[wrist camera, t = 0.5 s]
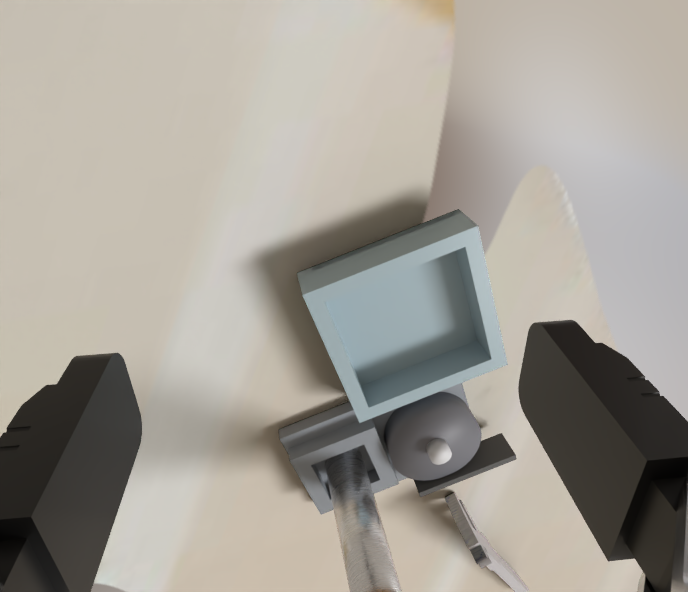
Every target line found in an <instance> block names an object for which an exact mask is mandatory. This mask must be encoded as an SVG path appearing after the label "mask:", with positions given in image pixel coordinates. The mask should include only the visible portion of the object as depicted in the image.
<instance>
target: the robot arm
mask: <svg viewBox="0 0 688 592" xmlns="http://www.w3.org/2000/svg"><path fill="white" fill-rule="evenodd" d="M519 399H520V403H521V407H522V410H523V412H524V414H525V416H526V418H527V420H528V421H529V423H530V425H531V427H532V428H533V430H534V432H535V434H536V435H537V437H538V439H539V441H540V442H541V444H542V446H543V448H544V449H545V451H546V453H547V455H548V456H549V458H550V460H551V462H552V463H553V465H554V467H555V469H556V470H557V472H558V474H559V476H560V477H561V479H562V481H563V483H564V485H565V486H566V488H567V490H568V492H569V493H570V495H571V497H572V499H573V500H574V502H575V504H576V506H577V507H578V509H579V511H580V513H581V514H582V516H583V518H584V520H585V521H586V523H587V525H588V527H589V528H590V530H591V532H592V534H593V535H594V537H595V539H596V541H597V542H598V544H599V546H600V548H601V549H602V551H603V553H604V555H605V556H606V558H607V560H608V561H615V560H624V559H633V558H635V559H636V561H637V562H638V564H639V566H640V567H641V569H642V570H643V573H642V575H641V577H640V580H639V584H638V591H637V592H688V422H687V421H686V420H685V418H684V417H683V416H682V415H681V414H680V413H679V412H678V411H677V410H676V409H675V408H674V407H673V406H672V405H671V404H670V403H669V401H668V400H667V399H666V398H664V396H660V394H659V391H658V390H657V389H656V388H655V387H654V386H653V385H652V384H651V383H650V382H649V380H645V376H644V375H643V374H642V373H641V372H640V371H639V370H638V369H637V368H636V367H635V366H634V365H633V364H632V362H631V361H630V360H629V359H628V358H626V357H625V356H623V355H622V354H620V353H618V352H617V351H615V350H613V349H612V348H610V347H608V346H607V345H605V344H603V343H595V342H594V341H593V340H592V339H591V338H590V337H589V336H588V335H587V333H586V332H585V331H584V330H583V329H582V328H581V327H580V326H579V324H578V323H576V322H575V321H573V320H564V321H551V322H538V323H533V324H532V325H531V327H530V329H529V332H528V336H527V342H526V347H525V353H524V358H523V363H522V369H521V374H520V379H519ZM141 436H142V421H141V414H140V411H139V407H138V404H137V401H136V397H135V394H134V391H133V388H132V384H131V381H130V378H129V374H128V371H127V368H126V364H125V362H124V359H123V357H122V356H121V355H120V354H119V353H110V354H97V355H84V356H76V357H74V358H73V359H72V360H71V362H70V364H69V365H68V367H67V368H66V370H65V372H64V373H63V375H62V377H61V378H60V380H59V382H58V383H57V384H55V385H46V386H45V387H43V388H42V389H41V390H40V391H39V392H37V393H36V394H35V395H34V396H33V397H31V398H30V399H29V400H28V401H26V402H25V403H24V404H23V405H22V406H21V407H20V409H19V410H18V412H17V413H16V415H15V416H14V418H13V419H12V421H11V422H10V424H9V425H8V427H7V432H6V433H3V434H2V436H1V437H0V592H91V588H92V586H93V583H94V580H95V577H96V574H97V571H98V568H99V565H100V562H101V559H102V556H103V553H104V550H105V547H106V544H107V541H108V538H109V535H110V532H111V529H112V526H113V523H114V520H115V517H116V515H117V512H118V509H119V506H120V503H121V500H122V497H123V494H124V491H125V488H126V485H127V482H128V479H129V476H130V473H131V470H132V467H133V464H134V461H135V458H136V455H137V452H138V449H139V446H140V442H141Z"/></svg>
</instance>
